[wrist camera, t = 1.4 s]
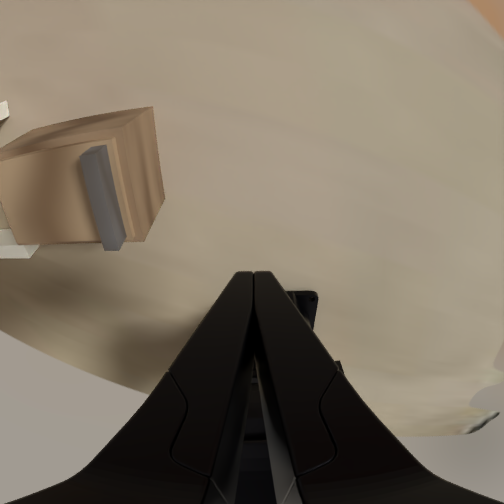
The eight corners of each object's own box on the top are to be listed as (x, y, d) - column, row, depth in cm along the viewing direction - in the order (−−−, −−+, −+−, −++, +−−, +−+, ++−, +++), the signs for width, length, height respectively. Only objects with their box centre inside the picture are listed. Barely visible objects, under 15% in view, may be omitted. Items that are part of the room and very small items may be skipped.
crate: (153, 105, 16) (107, 137, 11) (165, 197, 20) (135, 260, 15) (33, 129, 16) (-30, 168, 11) (53, 206, 20) (5, 261, 15)
